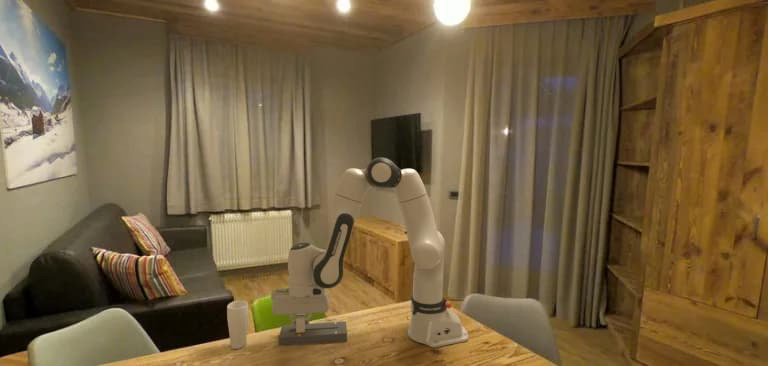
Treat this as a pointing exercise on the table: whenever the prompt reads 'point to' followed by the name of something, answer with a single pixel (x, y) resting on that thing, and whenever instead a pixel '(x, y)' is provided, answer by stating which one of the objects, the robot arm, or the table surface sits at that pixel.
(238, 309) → the drinking glass
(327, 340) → the console
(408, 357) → the table surface
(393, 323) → the table surface
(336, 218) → the robot arm
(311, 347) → the table surface
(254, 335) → the table surface
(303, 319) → the fader tab
